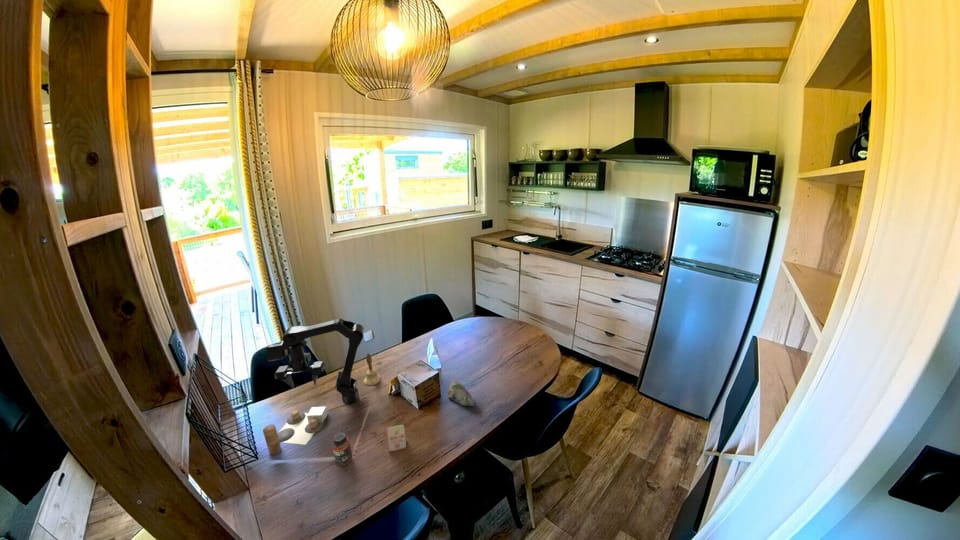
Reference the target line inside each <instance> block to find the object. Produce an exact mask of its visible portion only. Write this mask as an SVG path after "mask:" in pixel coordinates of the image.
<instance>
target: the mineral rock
mask: <svg viewBox="0 0 960 540" xmlns="http://www.w3.org/2000/svg"><path fill="white" fill-rule="evenodd" d="M447 398H448V400H449V399H450V400H452V402H456V403H458V404H460V405H461V406H470V407H474V406H475V402H474V399H473V397H472V395H471V393H470V392H469V391H468V390H467V389H466V387H465V385H464V384H463V383H461V382H459V381H457V380H455V379H454V380H452V381H451V383H450V385H449V387H448V391H447Z"/></svg>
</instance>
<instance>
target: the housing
mask: <svg viewBox="0 0 960 540" xmlns="http://www.w3.org/2000/svg"><path fill="white" fill-rule="evenodd" d="M307 413H308V415H307V418H308V423H309V421H310V420H311V419H313V418H317V421H318V423H321V422H323V423H324V421H325V420H326V418H327V417H326V416H328V410H327V406H312V407H311V408H310V410H309V411H308V412H307ZM325 417H326V418H325Z"/></svg>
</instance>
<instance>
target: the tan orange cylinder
mask: <svg viewBox="0 0 960 540" xmlns="http://www.w3.org/2000/svg"><path fill="white" fill-rule="evenodd" d="M262 433H263V437H264V439H265V443H266V447H267V450H268V454H269V455H270V456H276V455H278V454H279V453H280V452H281V450H282V447H281V442H279V438H278V434H277V433H278V431H277V428H276V425H275V424H268V425H266V426H265V427H264V428H263V429H262Z"/></svg>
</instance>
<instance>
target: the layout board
mask: <svg viewBox="0 0 960 540" xmlns="http://www.w3.org/2000/svg"><path fill="white" fill-rule="evenodd" d="M308 413H309V412H301V411H300V410H298V409H295V410H293V411H292V412H291V413H290V416H288V418H287V420H286V423H285V424H284V425H283V427H282V428H281V429H280V430H279V431H277V434H278V438H279V442H280V443H282V444H284V443H285V444H294V445H296V444H297V445H303V446H304V445H305V446H306V445H307V444H308V443H309V441H310V440H311V438H312V437H313V436H314V434H315V433H317V432H320V430H322V429H323V427H324V425H325V424H324V421H323V422H321V423H318V421H317V418H313V419H311V420H310V421H309V423H308V418H307V415H308ZM327 416H328V415H327ZM327 416H326V417H325V419H326V418H327Z"/></svg>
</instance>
